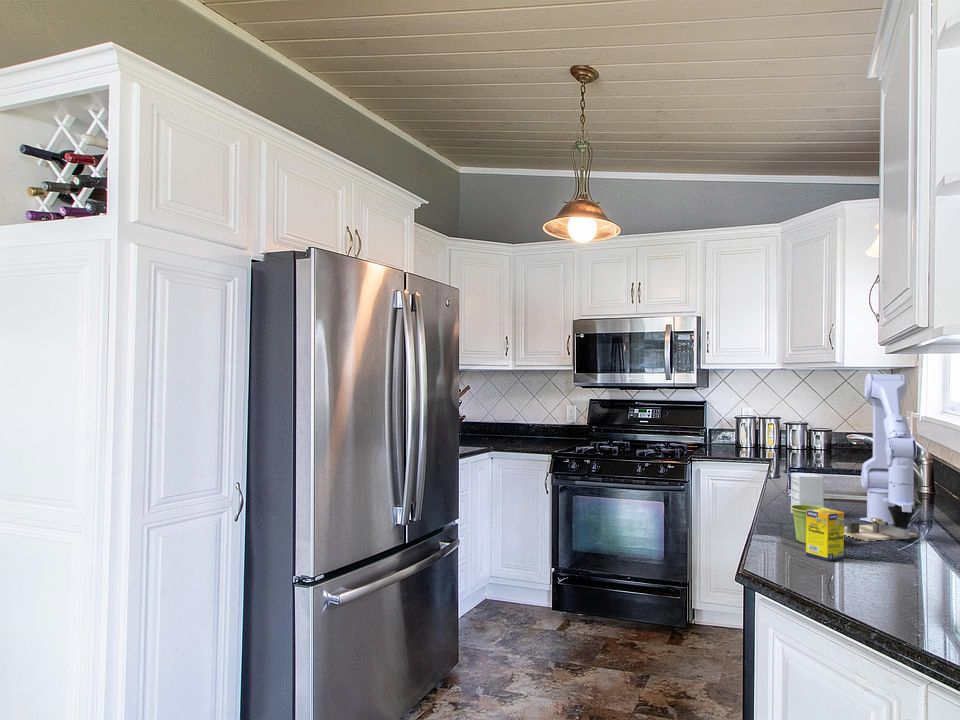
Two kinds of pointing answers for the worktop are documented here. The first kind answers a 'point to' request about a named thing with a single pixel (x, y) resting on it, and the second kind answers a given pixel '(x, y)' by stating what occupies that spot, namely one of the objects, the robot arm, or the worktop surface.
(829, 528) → the supplement box
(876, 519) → the lock bar
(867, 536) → the jamb board
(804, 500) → the supplement box
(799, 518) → the plant pot
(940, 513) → the worktop surface
